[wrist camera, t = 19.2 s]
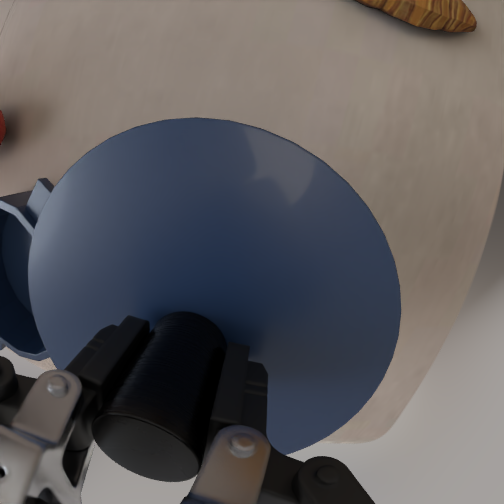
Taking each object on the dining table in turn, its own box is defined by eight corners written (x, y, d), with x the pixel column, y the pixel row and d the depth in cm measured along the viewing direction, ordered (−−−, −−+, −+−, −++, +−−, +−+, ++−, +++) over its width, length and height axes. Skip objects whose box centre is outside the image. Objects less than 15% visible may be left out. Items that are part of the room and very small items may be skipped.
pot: (-14, 280, 26) (-45, 297, 20) (41, 136, 21) (-4, 135, 15) (62, 365, 28) (35, 395, 22) (145, 239, 23) (109, 261, 17)
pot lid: (13, 313, 12) (-60, 371, 6) (174, 43, 9) (86, -48, 3) (225, 474, 14) (211, 558, 9) (451, 313, 11) (533, 401, 5)
